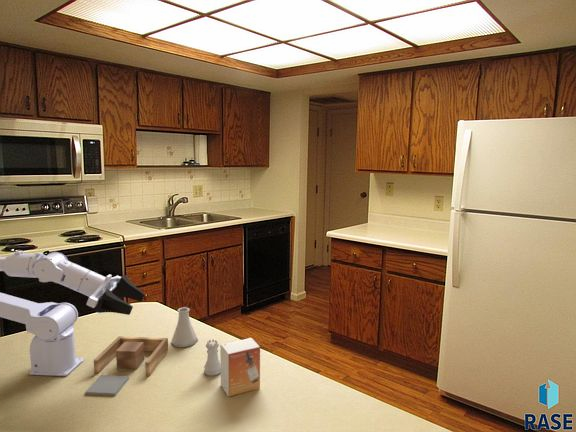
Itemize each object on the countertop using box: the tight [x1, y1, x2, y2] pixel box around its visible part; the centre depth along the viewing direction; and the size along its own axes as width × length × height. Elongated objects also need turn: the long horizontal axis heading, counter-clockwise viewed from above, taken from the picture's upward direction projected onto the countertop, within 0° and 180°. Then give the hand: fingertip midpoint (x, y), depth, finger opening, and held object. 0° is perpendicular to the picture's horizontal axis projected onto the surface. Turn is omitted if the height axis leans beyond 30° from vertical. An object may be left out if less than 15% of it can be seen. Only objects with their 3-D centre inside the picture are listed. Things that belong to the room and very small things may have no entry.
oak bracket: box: [93, 336, 169, 377], centre depth 105 cm, size 14×13×4 cm
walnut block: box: [115, 342, 145, 371], centre depth 103 cm, size 5×5×5 cm
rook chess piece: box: [203, 339, 221, 377], centre depth 100 cm, size 4×4×8 cm
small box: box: [219, 337, 261, 398], centre depth 93 cm, size 8×6×10 cm
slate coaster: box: [84, 374, 130, 397], centre depth 94 cm, size 7×7×1 cm
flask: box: [170, 306, 199, 348], centre depth 115 cm, size 7×7×10 cm
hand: (137, 304), depth 99 cm, fingers open, 7 cm apart
